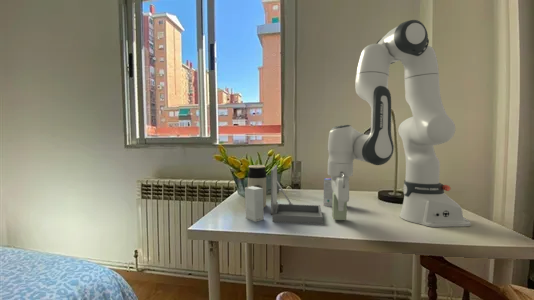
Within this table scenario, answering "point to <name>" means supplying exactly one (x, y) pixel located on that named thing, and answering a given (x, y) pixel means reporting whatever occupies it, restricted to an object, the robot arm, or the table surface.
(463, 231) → the table surface
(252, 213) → the skincare box
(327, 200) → the ink cartridge box
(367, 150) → the robot arm
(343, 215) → the block
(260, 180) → the travel mug
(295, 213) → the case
